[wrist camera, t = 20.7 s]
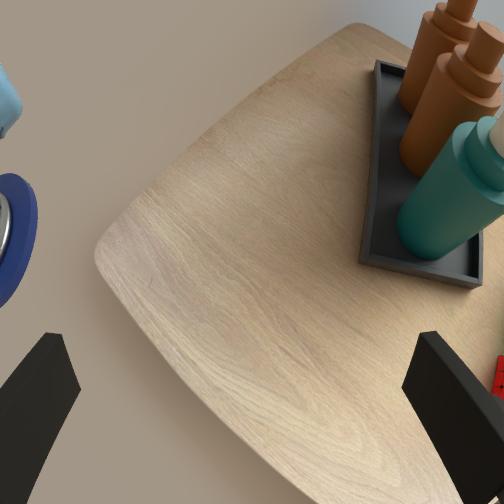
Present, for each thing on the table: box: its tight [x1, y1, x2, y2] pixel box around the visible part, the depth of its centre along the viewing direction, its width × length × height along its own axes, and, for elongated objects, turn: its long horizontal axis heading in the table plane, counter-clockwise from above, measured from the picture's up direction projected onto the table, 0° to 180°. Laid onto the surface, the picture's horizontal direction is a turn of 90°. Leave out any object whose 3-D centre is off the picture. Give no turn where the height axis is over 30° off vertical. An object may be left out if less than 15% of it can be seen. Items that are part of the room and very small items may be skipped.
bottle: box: [396, 112, 504, 261], centre depth 20 cm, size 7×7×19 cm
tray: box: [358, 60, 483, 289], centre depth 30 cm, size 13×28×2 cm, turn 166°
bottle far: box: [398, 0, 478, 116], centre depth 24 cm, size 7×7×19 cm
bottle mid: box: [399, 21, 504, 179], centre depth 22 cm, size 7×7×19 cm
